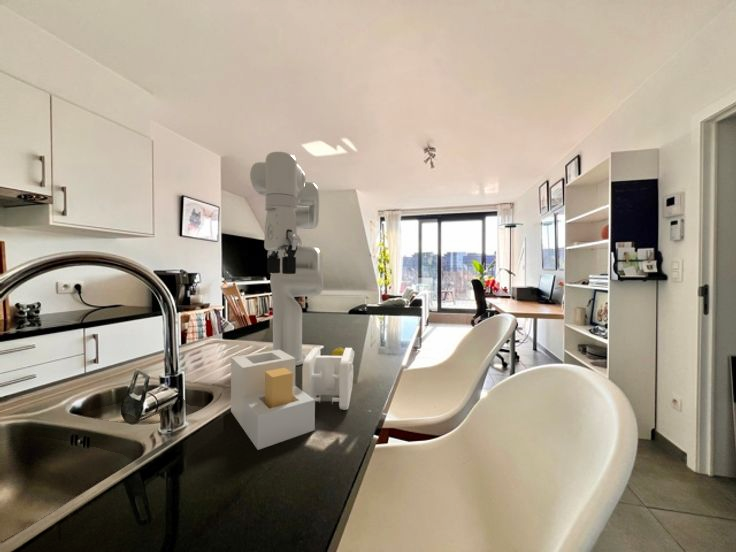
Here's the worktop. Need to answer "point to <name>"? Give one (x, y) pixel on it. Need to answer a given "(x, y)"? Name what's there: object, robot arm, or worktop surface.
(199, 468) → the worktop surface
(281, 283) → the robot arm
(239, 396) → the stepped foam insert
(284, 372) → the plug
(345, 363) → the cable organizer
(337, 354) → the lemon
